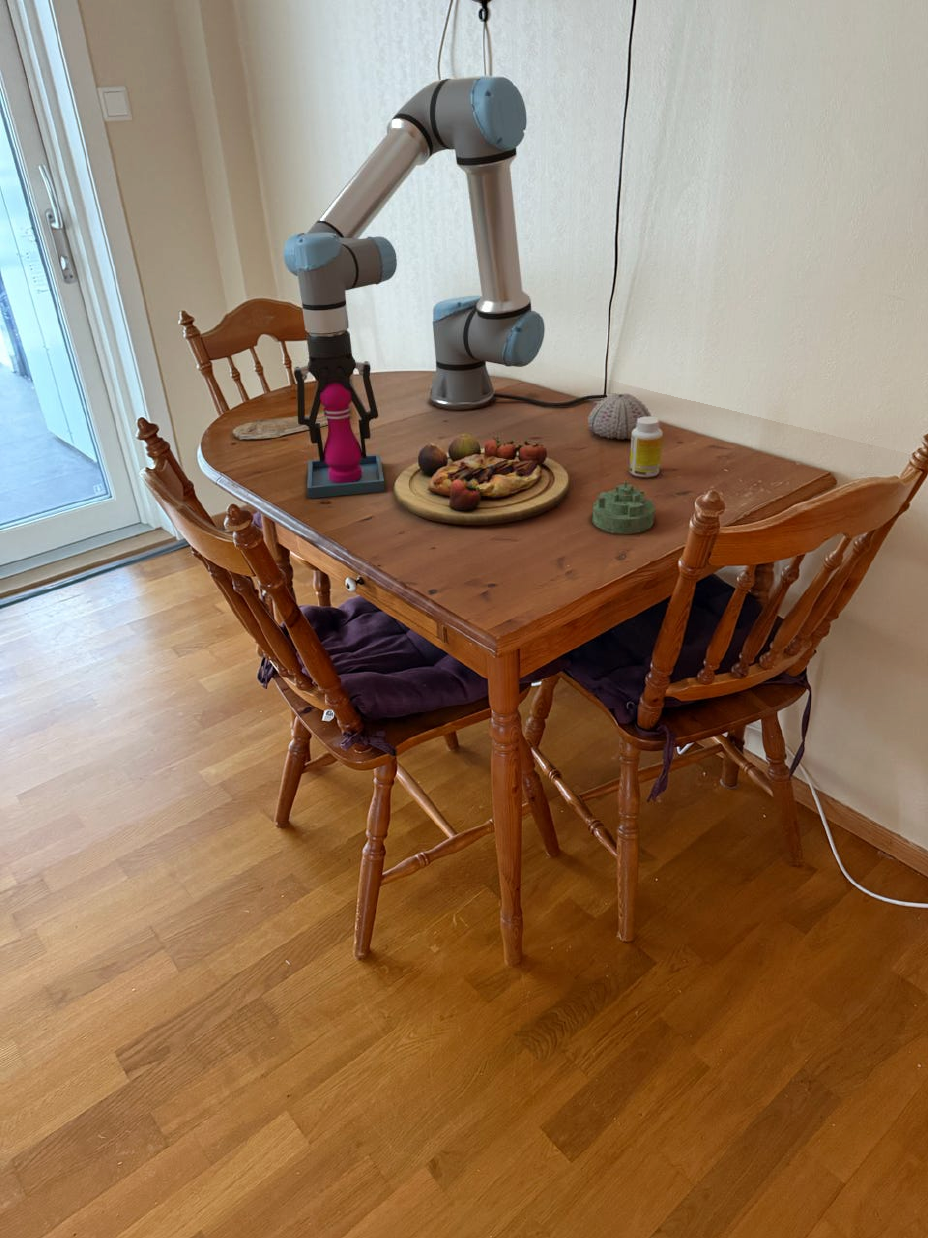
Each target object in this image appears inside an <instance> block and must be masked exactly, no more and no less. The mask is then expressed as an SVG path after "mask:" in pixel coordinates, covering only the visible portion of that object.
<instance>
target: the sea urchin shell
mask: <svg viewBox="0 0 928 1238" xmlns="http://www.w3.org/2000/svg"><path fill="white" fill-rule="evenodd" d="M611 394H612V395H609V396H608V397H606V398H602V400H601V399H600V401H599V402H598V403H596V405H595V406H594V408H592V410H591V411H590V412H589V413H588V414H589V416H588V417H587V419H588V420H587V423H588V427H589V428H590V431H592V432H593V433H594V434H596V435H599V437H604V438H608V439H618V440H625V439H627V440H631V438H632V431H633V430H634V429H635V428H636V427H637V420H638V418H641V417H652V414H651V412H650V411H649V408H647V407H646V405H645V404H643V402H642V401H641V400H639V398H637V397H636V396H633V395H632V394H629V393H611Z"/></svg>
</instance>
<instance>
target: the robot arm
mask: <svg viewBox="0 0 928 1238" xmlns="http://www.w3.org/2000/svg"><path fill="white" fill-rule="evenodd" d="M527 120H528V119H527V109H526V105H525V101H524V99H523V96H522V94H521V91H520V90H519V88H518V87H517V86H516V85H515V84H514V83H513V81H512V80H510V79H508V78H507V77H504V76H497V75H496V76H494V75H488V74H487V75H475V76H465V77H458V78H457V77H455V78H441V79H438V80H435V81H433V82H431V83H429V84H427V85H425V87H423V88H422V89H420V90H419V91H418V92H416V93H415V94H414V95H413V96H412V97H411V98H410V99H408V101H406V102H405V104H404V105H403V106H402V107H401V108H400V109H399V110H398V111H397V112H396V114H395V115H394V116H393V117H392V118H391V120H390V121H389V122H388V124H387V126H386V135H385V136H384V137H383V139H382V140H381V141H380V142H379V143H378V145H377V146H376V147H375V149H374V150H373V151H372V153H370V155H369V156H368V158H367V159H366V160H365V161H364V162H363V163H362V164H361V165H360V167H359V169H358V170H357V171H356V172H355V174H354V175H353V176H352V177H351V178H350V180H349V181H348V182H347V183H346V185H345V186H344V187H343V188H342V190H341V191H340V192H339V193H338V194H337V196H335V199H333V200H332V202H331V203H330V205H328V207H327V208H326V209H325V211H323V213H322V214H321V215H320V217H319V218H318V219H317V220H316V222H315V223H314V224H313V226H311V228H310V229H309V230H308V231H307V232H306V233H305V232H301V233H296V234H293V235H291V236H290V237H288V238H287V240H286V242H285V244H284V247H283V252H282V253H283V260H284V264H285V267H286V268H287V270H288V271H289V272H290V273H291V274H292V275H294V276H296V277H297V281H298V286H299V294H300V300H301V306H302V307H301V310H302V316H303V322H304V330H305V332H307V335H306V336H305V338H306V344H307V353H308V363H307V365H304V366H301V367H299V366H294V369H293V376H294V379H295V381H296V385H297V388H296V389H297V416H298V423H299V424H300V425H306V426H308V427H309V430H308V432H309V439H310V443H311V444H312V445H313V444H316V445H317V450H318V451H317V452H318V457H319V460H320V462H324V445H323V438H322V432H321V431H322V430H321V427H320V423H316V419H317V415H318V413H320V412H319V411H320V407H321V405H322V404H321V400H320V393H321V392H323V391H324V389H325V385H328V384H332V383H340V384H343V386H344V387H345V389H346V390H349V391H350V394H351V402H352V404H353V406H354V407H355V410H356V411H357V413H358V415H359V417H360V419H358V430H359V437H360V439H359V440H360V447H361V450H362V457H363V458H367V456H366V455H367V448H366V440H370V439H371V428H370V422H371V421H372V420H375V419H378V418H379V411H378V407H377V402H376V399H375V394H374V390H373V385H372V381H371V369H372V367H371V363H370V362H369V361H367V360H365V361H363V362H362V361H357V360H356V359H355V357H354V356H353V350H352V341H351V333H350V332H349V331H348V329H349V328H350V325H349V315H348V305H347V296H346V292H347V291H351V290H355V289H359V288H364V287H367V286H372V285H379V284H381V283H384V282H386V281H389V280H390V279H392V278H393V277H394V275H395V273H396V272H397V267H398V259H397V253H396V249H395V247H394V246H393V244H392V242H390V240H389V239H388V238H385V237H384V236H379V235H377V236H367V237H364V238H360V237H362V235H363V234H364V232H365V231H366V230H367V228H368V227H369V226H370V225H371V223H372V222H373V221H374V220H375V219H376V217H377V216H378V215H379V213H380V212H381V211H382V209H383V208H384V207H385V205H387V203H388V202H389V201H390V200H391V198H392V197H393V196H394V194H396V192H397V191H398V190H399V188H400V187H401V186H402V184H403V183H404V182H405V180H406V179H407V178H408V177H409V176H410V174H411V173H412V172H413V170H414V169H415V168H416V167H417V166H423V165H425V164H426V162H428V161H429V159H430V158H431V157H432V156H433V155H435V154H437V153H438V152H442V151H446V150H448V151H449V150H451V151H454V153H455V161H456V166H457V167H459V168H460V169H461V170H462V171H463V172H464V173H465V176H466V182H467V183H466V184H467V191H468V199H469V207H470V214H471V223H472V229H473V236H474V245H475V253H476V259H477V261H476V262H477V267H478V275H479V284H480V291H481V295H465V296H459V297H453V298H448V299H444V300H441V301H438V302H437V303H436V304H435V305H434V306H433V310H432V327H433V328H432V331H433V341H434V355H435V372H434V377H433V380H432V385H431V387H430V390H429V401H430V404H431V405H432V406H434V407H436V408H438V409H442V410H450V411H468V410H476V409H480V408H483V407H486V406H489V405H490V404H492V403H494V401H495V398H499V399H506V400H514V401H521V402H527V403H531V404H534V405H535V404H536V405H538V406H539V405H540V406H543V407H550V408H551V407H552V408H553V407H554V408H557V407H558V408H559V407H567V406H573V405H575V404H578V403H581V402H584V401H588V400H598V399H600V400H601V399H604V398H606V397H608V396H607V395H605V394H606V393H605V394H604V393H603V394H591V395H586V396H582V397H579V398H576V399H573V400H570V401H565V402H548V401H544V400H543V401H542V400H538V399H535V398H530V397H525V396H519V395H511V394H503V393H496V392H495V388H494V386H493V382H492V381H491V377H490V374H489V371H488V369H487V363H491V364H497V365H501V366H505V367H515V368H516V367H517V368H523V367H526V366H528V365H530V364H531V363H532V362H533V361H534V360H535V359H536V357H537V356H538V354H539V352H540V349H542V346H543V342H544V338H545V329H546V327H545V321H544V318H543V316H541V313H539V312H537V311H535V310H533V309H532V301H531V299H532V298H531V296H530V295H529V294H527V293H526V292H525V291H524V290H523V284H522V283H523V281H522V274H521V263H520V253H519V252H520V251H519V244H518V233H517V223H516V222H517V221H516V213H515V203H514V194H513V193H514V191H513V183H512V182H513V181H512V173H511V166H512V163H513V162H514V160H515V159H516V157H518V156H517V153H518V151H517V148H518V146H519V145H520V144H522V141H523V140H524V138H525V132H524V131H526V129H527ZM355 369H356V370H357V372H358V374H359V375H360V376H362V382H363V385H364V389H365V393H366V398H367V403H368V407H369V410H368V411H367V410H366V408H365V406H364V404H363V402H362V400H361V397H360V396H359V393H358V392H357V390H356V388H355V387H354V385H353V382H352V381H351V377H352V374H353V373H354V371H355ZM309 373H310V374H311V375H312V377H313V378H315V380H316V381H317V383H316V388H315V392H314V396H313V400H312V405H311V407H310V412H309V414H310V416H309V417H307V416H305V415H306V398H305V397H306V396H305V395H306V392H305V391H306V389H305V384H306V383H305V380H307V379H308V374H309Z"/></svg>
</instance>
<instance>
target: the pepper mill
mask: <svg viewBox="0 0 928 1238" xmlns="http://www.w3.org/2000/svg"><path fill="white" fill-rule="evenodd" d="M320 400H321V404H320V405H322V406H323V407H324V408H323V411H322V412H323V413H325V414H324V416H325V417H326V418H327V422H328V425H327V437H326V440H325V444H324V445H323V452H324V461H325V463H326V464H327V465H328V466H329V467H330V468H329V470H328V473H329V479H330V480H331V481H332V482H335V483H350V482H354V481H357V480H359V479H360V478H361V477H362V470H361V466H360V465H358V464H359V463H360V461H361V460H362V448H361V443H359V441H358V439H357V438H356V435H355V434H354V431H353V429H352V424H351V416H352V410H351V409H352V406H350V404H351V402H352V400H351V394H350V391H349V390H346V389H345V387H344V386H343V384H340V383H332V384H328V385H325V389H324V391H323V392H321V393H320Z"/></svg>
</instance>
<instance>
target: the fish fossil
mask: <svg viewBox="0 0 928 1238" xmlns="http://www.w3.org/2000/svg"><path fill="white" fill-rule="evenodd" d="M324 414H325V413H324V412H318V415H317V419H316V423H320V428H321V427H325V426H328V422H327V418H326V417H325V416H324ZM305 416H307V417H309V416H310V413H309V414H305ZM304 431H309V427H308V426H306V425H300V424H299V423H298V415H297V416H296V415H295V416H288V417H278V418H277V417H276V418H266V419H258V420H257V421H252V422H251V421H250V422H246V423H243V424H240V425H238V426H236V427H234V428H233V430H232V434H233V435H234V436H235V437H236V438H237V439H238V440H266V439H274V438H281V437H282V436H286V435H290V434H294V433H299V432H304Z"/></svg>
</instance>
